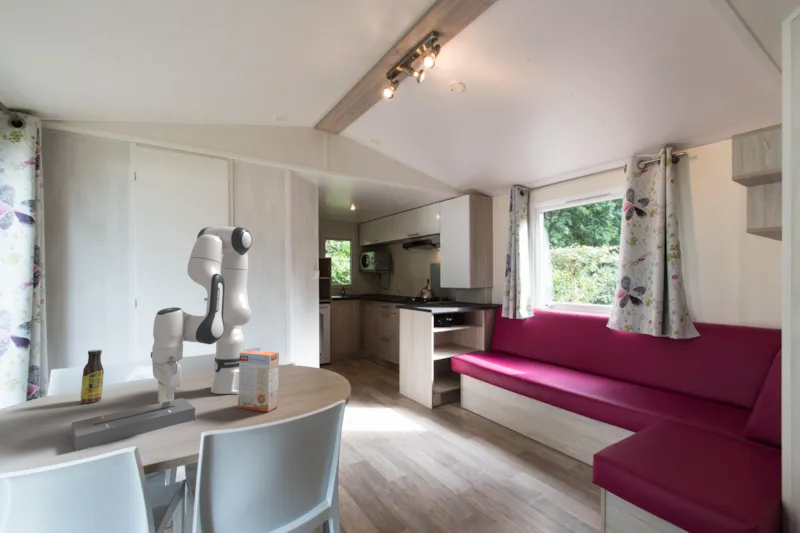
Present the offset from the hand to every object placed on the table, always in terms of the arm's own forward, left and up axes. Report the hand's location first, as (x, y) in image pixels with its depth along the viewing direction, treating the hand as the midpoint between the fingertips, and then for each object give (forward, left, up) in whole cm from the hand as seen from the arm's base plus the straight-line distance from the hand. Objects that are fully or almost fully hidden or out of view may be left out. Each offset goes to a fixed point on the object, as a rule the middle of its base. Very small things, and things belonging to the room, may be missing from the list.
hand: (166, 395), depth 118 cm
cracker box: (-27, +12, -9) cm, 31 cm away
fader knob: (0, 0, -4) cm, 4 cm away
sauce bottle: (+15, -41, -9) cm, 45 cm away
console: (+8, 0, -8) cm, 11 cm away
